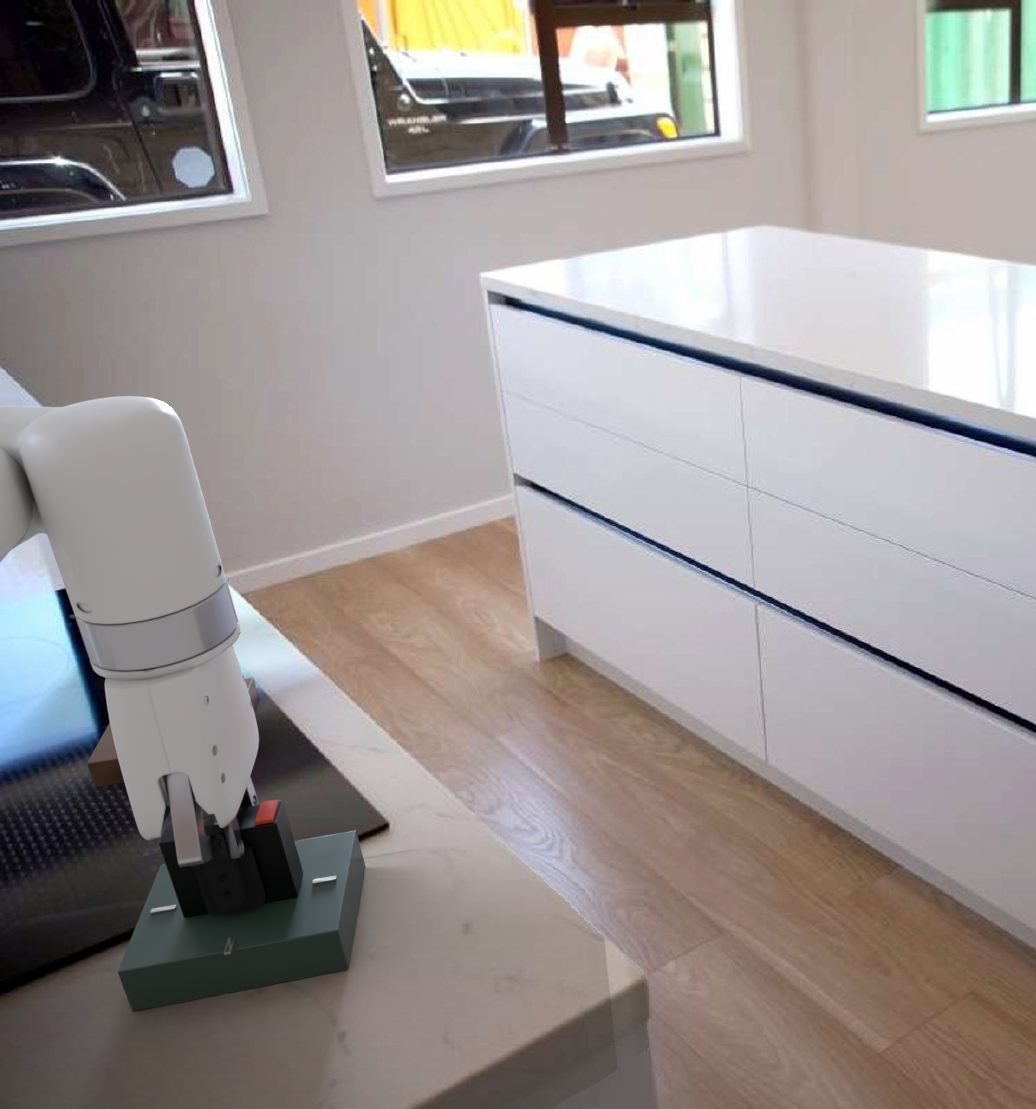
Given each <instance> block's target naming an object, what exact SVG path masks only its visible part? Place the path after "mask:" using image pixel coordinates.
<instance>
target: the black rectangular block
mask: <svg viewBox="0 0 1036 1109" xmlns="http://www.w3.org/2000/svg"><path fill="white" fill-rule="evenodd" d="M236 818H237V822H238V825H239V829H240V832H241V836H242V839H243V843H244V847H250V846H251V847H252V851H253V854H254V857H255V861H256V864H257V867H258V871H259V874H260V877H261V881H262V884H263V887H264V891H265V894H266V898H265V902H264V903H268V902H274V901H279V900H285V899H290V898H296V897H298V894H299V889H300V885H301V881H302V877H303V870H302V866H301V863H300V859H299V856H298V852H297V848H296V845H295V841H296V840H295V838H294V835H293V831H292V828H291V827H292V826H291V823H290V821H289V817H288V814H287V810H286V806H285V802H284V800H279V799H278V798H277V799H272V800H264V801H260V804H258V805H254V806H248V807H242V808H239V810H238V812H237V814H236ZM204 831H205V835H206V836H207V835H213V834H221V835H223V836H224V833H223V829H222V828H220V827H219V826H214V827H208V828H204ZM158 845H159V848H160V851H161V855H162V857H163V861H164V864H166V866H167V869H168V872H169V875H170V878H171V881H172V884H173V887H174V890H175V893H176V896H177V899H178V902H179V905H180V908H181V910H182V913H183V916H184V918H187V917H192V916H197V915H203V914H208V913H209V912H208V911H207V908H206V905H205V902H204V899H203V896H202V893H201V890H200V887H199V883H198V880H197V877H196V874H195V871H194V868H193V867H191V866H187V867H180V866H179V864H178V860H177V853H176V846H175V839H174V832H173V825H172V818H171V819H168V821H167V823H166V826H165V828H164V831H163V833H162V835H161V837H160V839H159V843H158Z"/></svg>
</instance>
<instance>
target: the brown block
mask: <svg viewBox="0 0 1036 1109" xmlns="http://www.w3.org/2000/svg"><path fill="white" fill-rule="evenodd" d="M244 680H245V683H246V686H247V689H248V692H249V696H250V699H251V703H252V706H253V710H254V714H256V712H257V709H258V706H259V703H260V696H259V691H258V688H257V685H256V681H255V678H254V677H248V678H244ZM86 765H87V767H88V770H89V773H90V776H91V778H92V782H93V784H94V787H95V788H99V787H107V786H113V785H119V784H125V782H124V779H123V775H122V771H121V768H120V764H119V760H118V756H117V752H116V748H115V744H114V740H113V735H112V730H111V726H110V722H109V723H108V725H107V727H106V728H105V730H104V732H103V734H102V736H101V738H100V739H99V741H98V743H97V745H96V747H95V748H94V750H93V752H92V753H91V756H90V758H89V759H88V760H87V763H86Z"/></svg>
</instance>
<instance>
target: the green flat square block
mask: <svg viewBox="0 0 1036 1109" xmlns="http://www.w3.org/2000/svg"><path fill="white" fill-rule="evenodd" d="M357 832H358V831H356V830H351V831H345V832H339V833H334V834H328V835H322V836H317V837H311V838H305V839H299V840H294V841H295V845H296V848H297V852H298V856H299V859H300V863H301V866H302V870H303V877H302V881H301V885H300V889H299V894H298V897H296V898H290V899H285V900H279V901H274V902H268V903H264V904H263V905H262V906H260V907H255V908H250V909H244V910H239V911H233V912H228V913H223V914H217V915H212V914H210V913H208V914H203V915H197V916H192V917H187V918H184V916H183V913H182V910H181V908H180V905H179V902H178V899H177V896H176V893H175V890H174V887H173V884H172V881H171V878H170V875H169V872H168V869H167V866H166V863H163V864H160V866H159V868H158V871H157V873H156V876H155V878H154V880H153V883H152V886H151V888H150V890H149V893H148V895H147V898H146V899H145V903H144V904H143V908H142V910H141V912H140V915H139V918H138V920H137V923H136V925H135V927H134V929H133V932H132V935H131V938H130V940H129V942H128V945H127V946H126V947H127V948H126V949H125V951H124V952H125V953H124V955H123V957H122V959H121V963H120V965H119V967H118V970H117V974H118V978H119V980H120V982H121V985H122V988H123V991H124V993H125V996H126V998H127V1001H128V1004H129V1006H130V1010H131V1011H132V1012H137V1011H141V1010H146V1009H151V1008H157V1007H162V1006H167V1005H173V1004H178V1003H183V1002H187V1001H193V1000H198V999H203V998H208V997H214V996H218V995H219V996H220V995H224V994H230V993H234V992H240V991H244V990H250V989H256V988H259V987H264V986H269V985H275V984H280V983H286V982H291V981H296V980H300V979H306V978H312V977H317V976H320V975H327V974H332V973H335V972H336V973H337V972H342V971H346V970H347V971H348V970H349V968H350V961H351V955H352V950H353V943H354V937H355V931H356V925H357V919H358V913H359V907H360V903H361V902H360V901H361V896H362V890H363V883H364V877H365V871H366V862H365V859H364V855H363V851H362V848H361V842H360V841H359V836H358V833H357Z"/></svg>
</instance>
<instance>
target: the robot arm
mask: <svg viewBox="0 0 1036 1109" xmlns="http://www.w3.org/2000/svg"><path fill="white" fill-rule="evenodd" d="M38 534H45V535H46V536H47V539H48V541H49V544H50V547H51V551H52V554H53V558H54V559H55V562H56V565H57V568H58V571H59V574H60V577H61V580H62V582H63V585H64V588H65V591H66V594H67V597H68V600H69V602H70V605H71V608H72V611H73V614H74V618H75V620H76V624H77V626H78V628H79V632H80V635H81V638H82V641H83V644H84V646H85V650H86V652H87V655H88V658H89V662H90V665H91V667H92V670H93V672H95V673H96V674H97V675H98V676H100V677H103V678H105V680H104V693H105V700H106V707H107V713H108V714H107V715H108V720H109V723H110V726H111V730H112V735H113V740H114V744H115V748H116V752H117V756H118V760H119V764H120V768H121V771H122V775H123V779H124V782H125V783H124V786H125V789H126V794H127V796H128V800H129V803H130V807H131V810H132V814H133V818H134V820H135V824H136V827H137V830H138V832H139V834H140V836H141V837H142V838H143V839H144V840H146V841H154V840H156V839H158V838H161V837H162V835H163V833H164V830H165V828H166V825H167V823H168V820H170V817H171V819H172V825H173V832H174V839H175V846H176V853H177V860H178V864H179V866H180V867H187V866H191V867H193V868H194V871H195V874H196V877H197V880H198V883H199V887H200V890H201V893H202V896H203V899H204V902H205V905H206V908H207V911H208V912H209V913H210V914H212V915H217V914H223V913H228V912H233V911H239V910H244V909H250V908H255V907H260V906H262V905H263V904H264V902H265V898H266V894H265V891H264V887H263V884H262V881H261V877H260V874H259V871H258V867H257V864H256V861H255V857H254V854H253V851H252V847H251V846H250V847H244V843H243V839H242V836H241V832H240V829H239V825H238V822H237V818H236V814H237V812H238V810H239V808H242V807H248V806H254V805H259V800H258V796H257V792H256V790H255V787H254V786H255V785H254V783H253V779H252V777H251V774H252V772H253V769H254V766H255V762H256V759H257V755H258V751H259V746H260V735H259V728H258V724H257V718H256V715H255V714H256V713H255V714H254V710H253V706H252V703H251V699H250V696H249V692H248V689H247V686H246V683H245V680H244V679H245V677H244V673H243V671H242V668H241V665H240V662H239V659H238V657H237V654H236V650H235V648H234V646H233V645H234V644H235V643H236V642H237V641H238V639H239V637H240V635H241V626H240V622H239V619H238V615H237V612H236V608H235V604H234V601H233V596H232V594H231V590H230V587H229V583H228V579H227V576H226V574H225V571H224V567H223V563H222V559H221V556H220V552H219V548H218V544H217V541H216V538H215V537H216V536H215V534H214V530H213V526H212V522H211V519H210V515H209V512H208V508H207V504H206V502H205V497H204V494H203V491H202V487H201V483H200V480H199V476H198V473H197V469H196V465H195V461H194V458H193V455H192V452H191V447H190V445H189V440H188V436H187V434H186V432H185V428H184V425H183V423H182V420H181V418H180V417H179V416H178V414H177V412H176V411H175V410H174V409H173V408H172V407H171V406H169V405H168V404H167V403H166V402H164V401H161V400H158V399H156V398H153V397H147V396H137V395H136V396H135V395H122V396H121V395H120V396H108V397H100V398H94V399H89V400H84V401H80V402H76V403H72V404H68V405H64V406H26V405H25V406H24V405H23V406H22V405H5V404H4V405H3V404H0V563H1V562H2V561H3V560H4V559H5V558H6V557H7V555H9V553H10V552H11V551H12V550H13V549H15V548H17V547H19V546H20V545H22V544H23V543H25V542H27V541H29V540H31V539H32V538H33V537H35V536H37V535H38ZM214 826H219V827H220V828H222V829H223V833H224V836H223V835H221V834H213V835H207V836H206V835H205V831H204V828H208V827H214Z"/></svg>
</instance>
